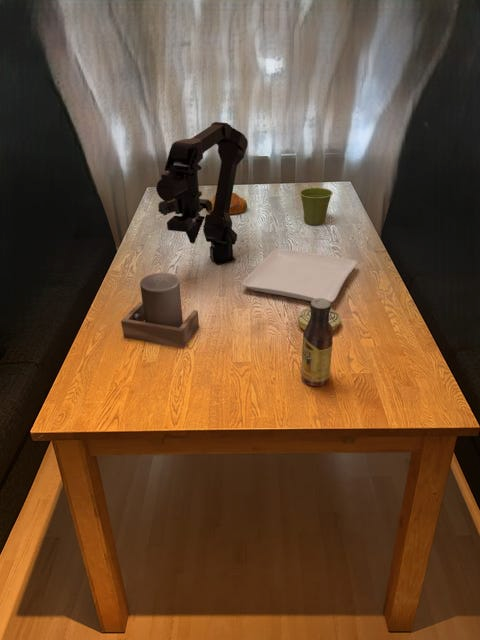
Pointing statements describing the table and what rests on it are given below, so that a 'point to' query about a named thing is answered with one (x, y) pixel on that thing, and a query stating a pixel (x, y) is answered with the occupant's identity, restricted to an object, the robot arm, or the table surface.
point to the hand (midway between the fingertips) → (192, 242)
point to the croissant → (234, 204)
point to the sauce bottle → (317, 344)
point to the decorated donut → (306, 314)
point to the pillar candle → (162, 299)
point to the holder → (158, 329)
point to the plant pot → (315, 204)
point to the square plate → (300, 275)
